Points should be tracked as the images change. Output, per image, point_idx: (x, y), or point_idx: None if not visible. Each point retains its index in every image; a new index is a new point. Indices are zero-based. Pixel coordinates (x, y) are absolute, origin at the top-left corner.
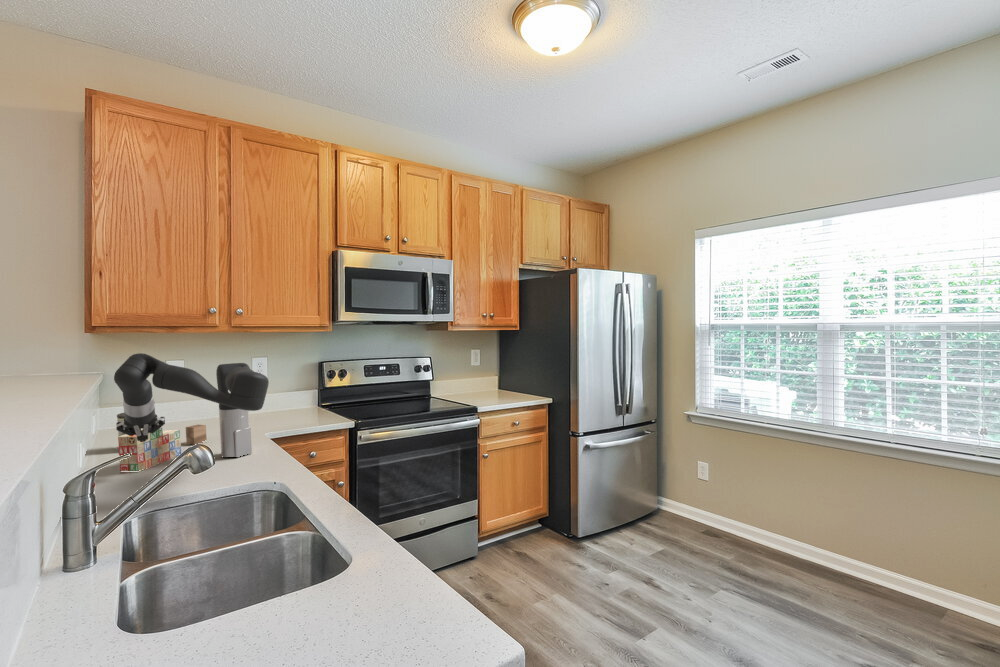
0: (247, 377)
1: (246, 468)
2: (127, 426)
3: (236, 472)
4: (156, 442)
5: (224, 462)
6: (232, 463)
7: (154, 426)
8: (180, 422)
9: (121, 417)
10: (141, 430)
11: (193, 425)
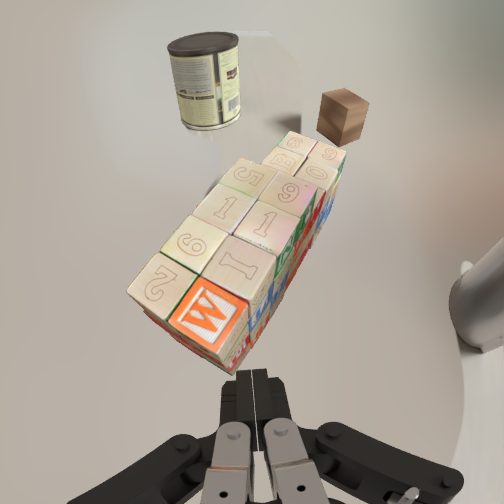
0: None
1: (497, 465)
2: (151, 495)
3: (479, 494)
4: (291, 260)
5: (464, 386)
6: (479, 406)
7: (358, 489)
8: (269, 39)
9: (175, 54)
10: (251, 421)
11: (337, 90)
